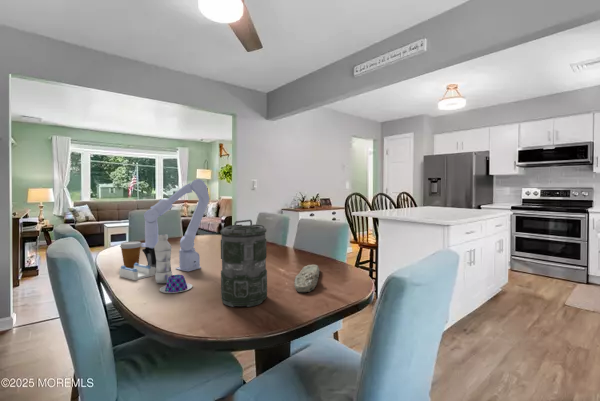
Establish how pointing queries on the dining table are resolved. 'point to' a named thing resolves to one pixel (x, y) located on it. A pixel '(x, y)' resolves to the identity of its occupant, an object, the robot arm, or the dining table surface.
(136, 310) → the dining table surface
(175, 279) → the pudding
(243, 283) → the canister
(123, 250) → the disposable coffee cup
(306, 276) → the long grey stone
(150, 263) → the cord plug
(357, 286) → the dining table surface
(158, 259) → the plastic bottle
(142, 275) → the white blue cradle
